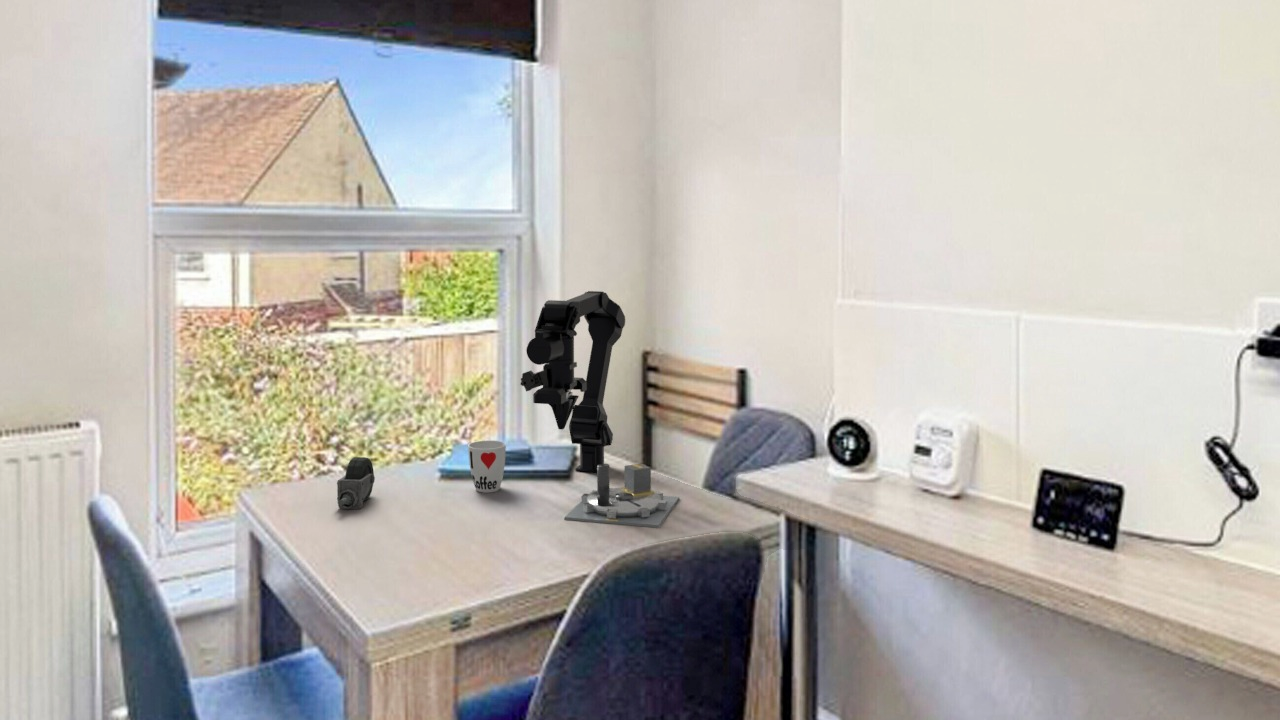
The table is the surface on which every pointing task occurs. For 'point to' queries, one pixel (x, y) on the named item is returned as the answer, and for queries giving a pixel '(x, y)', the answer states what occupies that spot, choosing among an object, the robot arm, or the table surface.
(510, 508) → the table surface
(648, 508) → the sprocket
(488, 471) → the cup
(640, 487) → the link block
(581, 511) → the base plate
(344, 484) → the caster wheel
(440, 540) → the table surface
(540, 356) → the robot arm
